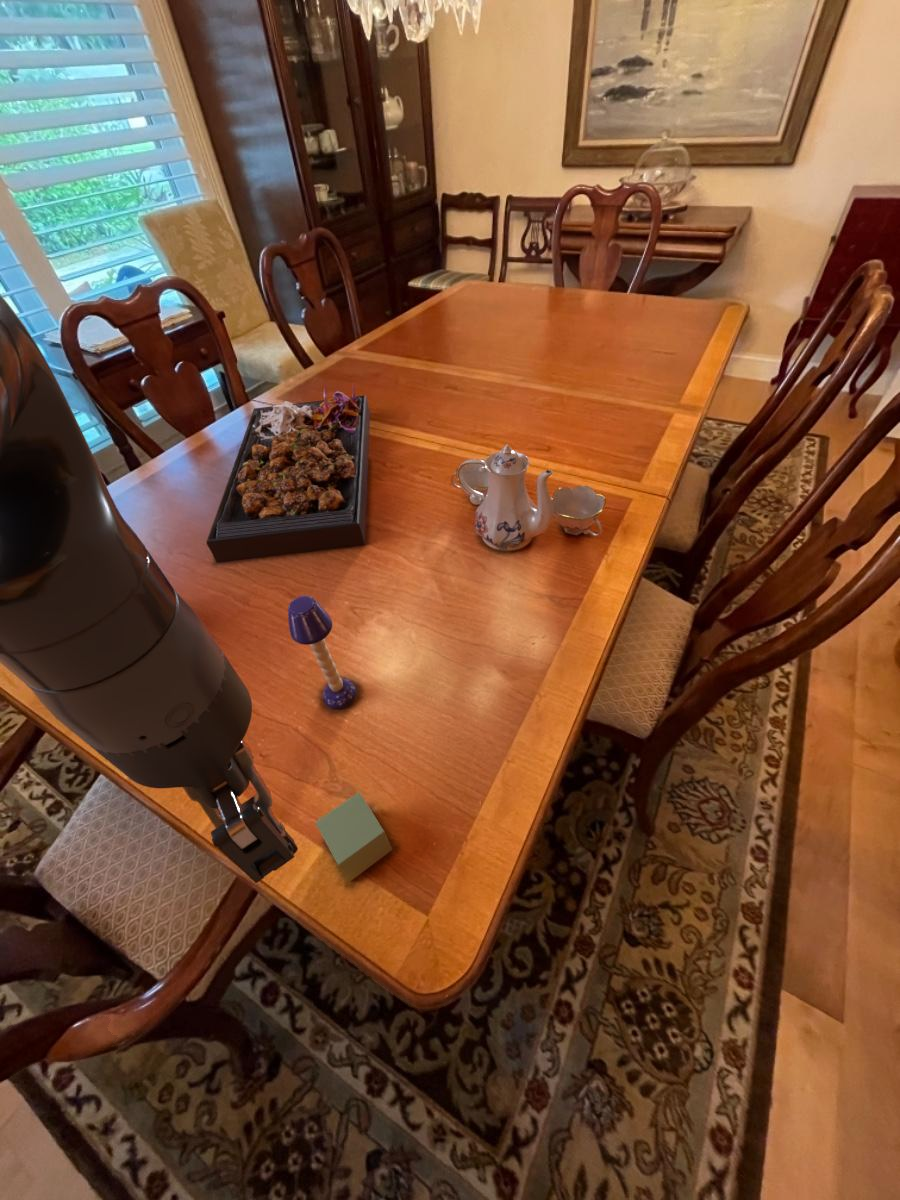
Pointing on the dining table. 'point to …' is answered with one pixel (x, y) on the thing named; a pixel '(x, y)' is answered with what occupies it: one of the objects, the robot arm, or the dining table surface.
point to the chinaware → (522, 501)
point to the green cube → (354, 836)
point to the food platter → (297, 481)
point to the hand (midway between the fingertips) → (260, 807)
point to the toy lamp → (319, 647)
